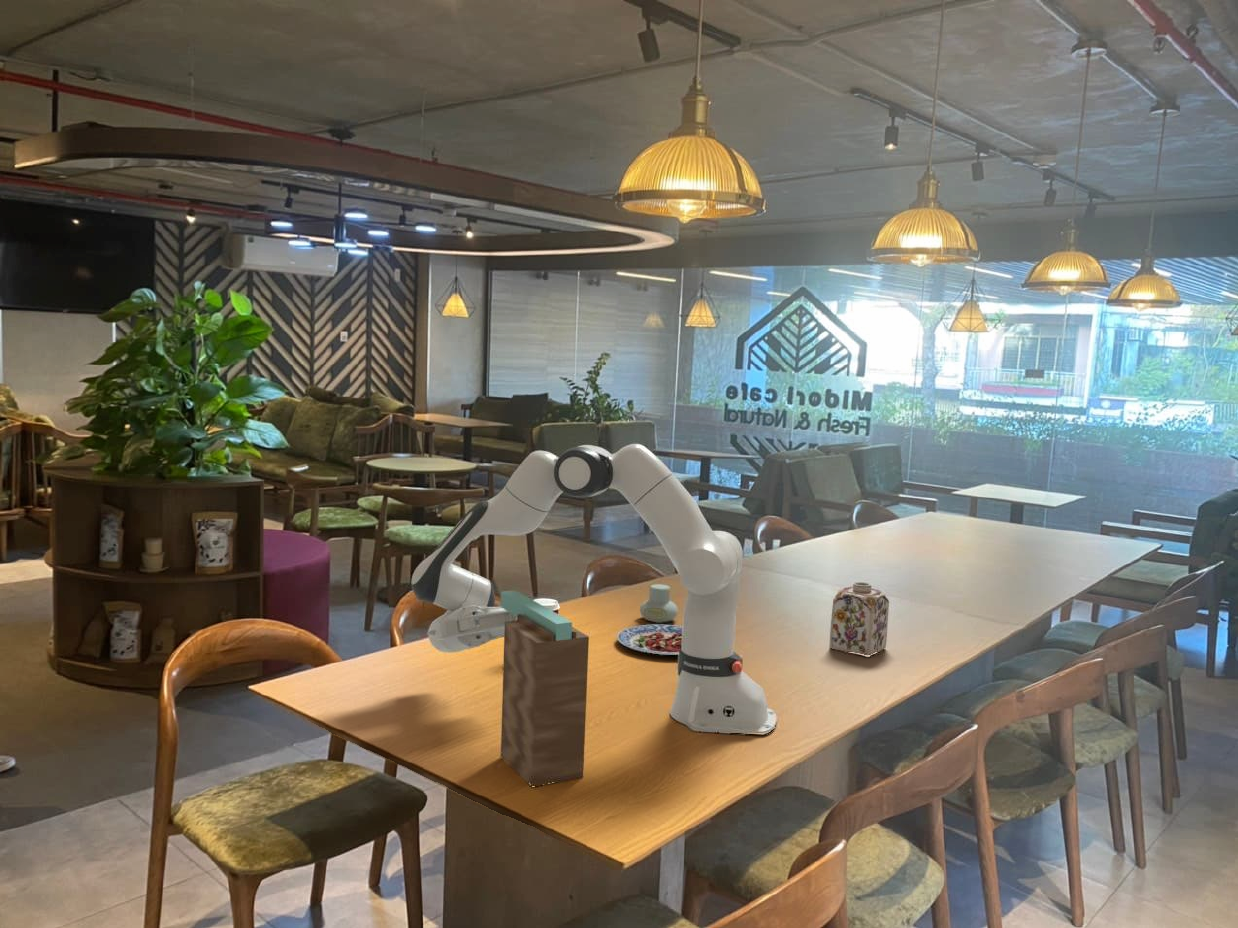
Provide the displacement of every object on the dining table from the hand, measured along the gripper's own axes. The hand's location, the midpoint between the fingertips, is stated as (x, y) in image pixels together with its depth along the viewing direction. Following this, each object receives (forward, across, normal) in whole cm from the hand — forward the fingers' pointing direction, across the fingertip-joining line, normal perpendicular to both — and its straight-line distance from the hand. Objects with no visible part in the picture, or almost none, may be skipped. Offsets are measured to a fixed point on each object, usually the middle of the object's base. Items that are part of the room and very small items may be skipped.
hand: (497, 618), depth 193 cm
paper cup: (-40, +30, +9) cm, 51 cm away
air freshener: (-54, +76, +5) cm, 93 cm away
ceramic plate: (-35, +63, +12) cm, 73 cm away
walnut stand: (+12, -2, +29) cm, 31 cm away
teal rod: (+17, -1, +3) cm, 17 cm away
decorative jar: (-12, +108, +23) cm, 111 cm away
